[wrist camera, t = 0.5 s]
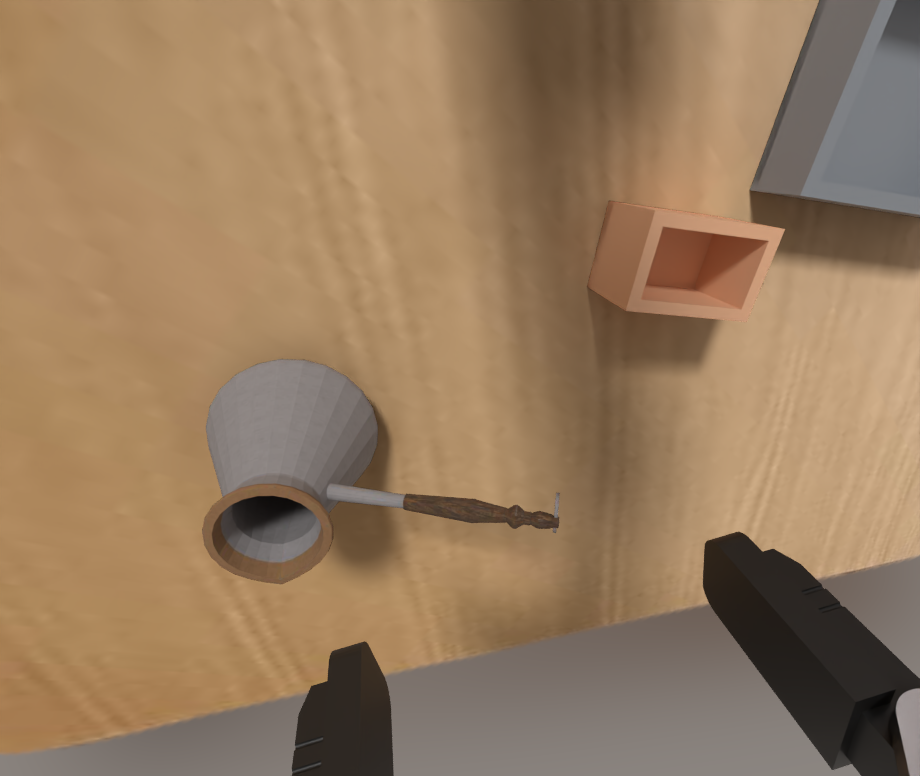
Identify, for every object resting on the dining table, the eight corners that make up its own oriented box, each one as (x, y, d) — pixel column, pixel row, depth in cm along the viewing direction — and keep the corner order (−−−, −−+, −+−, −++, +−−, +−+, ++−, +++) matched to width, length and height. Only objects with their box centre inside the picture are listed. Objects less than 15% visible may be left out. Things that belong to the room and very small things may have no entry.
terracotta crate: (608, 200, 33) (655, 210, 27) (721, 217, 34) (785, 229, 29) (587, 286, 35) (625, 310, 30) (693, 297, 37) (747, 321, 32)
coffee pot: (238, 485, 38) (167, 666, 24) (199, 351, 32) (82, 488, 19) (499, 454, 41) (562, 600, 27) (502, 327, 35) (581, 432, 22)
